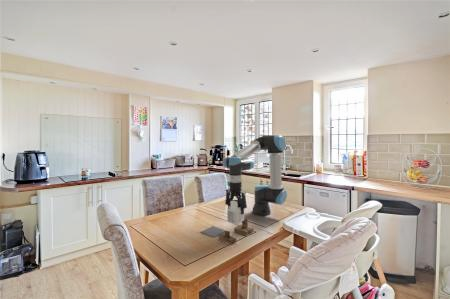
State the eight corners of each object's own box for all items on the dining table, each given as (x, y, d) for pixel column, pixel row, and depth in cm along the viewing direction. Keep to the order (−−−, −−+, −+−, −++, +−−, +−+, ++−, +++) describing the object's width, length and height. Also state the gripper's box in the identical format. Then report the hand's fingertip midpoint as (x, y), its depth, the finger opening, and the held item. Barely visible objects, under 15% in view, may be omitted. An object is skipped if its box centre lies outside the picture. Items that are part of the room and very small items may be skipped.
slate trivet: (213, 226, 148) (213, 226, 148) (226, 231, 141) (226, 230, 141) (200, 232, 139) (200, 231, 139) (214, 237, 132) (214, 236, 132)
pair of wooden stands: (240, 227, 147) (240, 215, 146) (253, 231, 140) (253, 219, 140) (218, 239, 129) (218, 225, 129) (231, 244, 123) (231, 230, 122)
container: (234, 217, 139) (234, 198, 138) (244, 220, 134) (244, 200, 133) (227, 221, 133) (227, 201, 132) (237, 224, 128) (237, 203, 127)
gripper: (219, 180, 136) (219, 215, 137) (245, 184, 123) (246, 223, 124) (226, 178, 142) (227, 212, 143) (252, 182, 129) (253, 219, 130)
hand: (235, 217), depth 133 cm, fingers closed on container, 8 cm apart
